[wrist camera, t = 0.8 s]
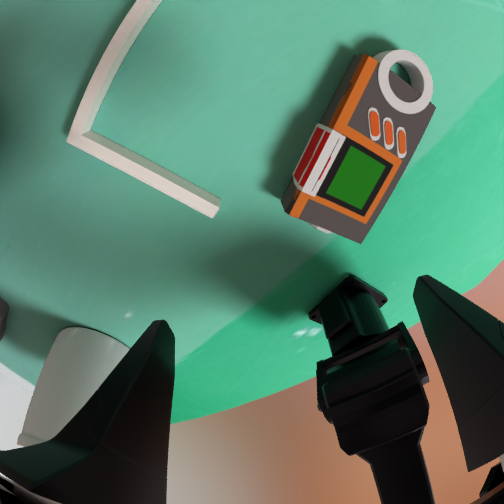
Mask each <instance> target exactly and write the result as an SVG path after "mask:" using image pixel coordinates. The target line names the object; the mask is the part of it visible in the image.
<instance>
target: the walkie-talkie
mask: <svg viewBox="0 0 504 504" xmlns="http://www.w3.org/2000/svg"><path fill="white" fill-rule="evenodd" d="M8 309H9V306H8V305H7V303H6V302H5V301H4V300H3V299H2V298H0V340H2V338H3V336H4V332H5V326H6V320H7V314H8Z"/></svg>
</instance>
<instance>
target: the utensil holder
mask: <svg viewBox="0 0 504 504" xmlns="http://www.w3.org/2000/svg"><path fill="white" fill-rule="evenodd" d="M129 350H130V349H129V348H128V347H127V346H125V345H124V344H122V343H121V342H119V341H117V340H116V339H114V338H112V337H110V336H108V335H105V334H103V333H100V332H98V331H94V330H91V329H86V328H81V327H70V328H66V329H63V330H62V331H60V332H59V334H58V335H57V337H56V339H55V341H54V343H53V345H52V347H51V350H50V352H49V354H48V356H47V358H46V360H45V363H44V365H43V368H42V371H41V373H40V376H39V379H38V381H37V384H36V387H35V390H34V393H33V396H32V399H31V402H30V405H29V408H28V411H27V415H26V419H25V422H24V426H23V430H22V433H21V434H20V435H19V437H18V442H17V445H18V446H20V447H21V448H22V447H26V446H30V445H34V444H38V443H42V442H46V441H48V440H50V439H52V438H53V437H54V436H56V435H57V434H58V433H59V432H60V431H61V430H62V429H63V427H64V426H65V425H66V424H67V423H68V422H69V421H70V420H71V419H72V418H73V417H74V416H75V415H76V414H77V413H78V412H79V410H80V409H81V408H82V407H83V406H84V405H85V404H86V402H87V401H88V400H89V399H90V398H91V396H92V395H93V394H94V393H95V391H96V390H98V388H99V387H100V385H101V384H102V383H103V382H104V380H105V379H106V378H107V377H108V375H109V374H110V373H111V372H112V370H113V369H114V368H115V367H116V366H117V364H118V363H119V362H120V361H121V359H122V358H123V357H124V356H125V355H126V353H127V352H128V351H129Z"/></svg>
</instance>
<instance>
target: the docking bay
mask: <svg viewBox="0 0 504 504" xmlns="http://www.w3.org/2000/svg"><path fill="white" fill-rule="evenodd" d="M161 1H162V0H137V1H136V2H135V4H134V5H133V7H132V8H131V9H130V11H129V12H128V14H127V15H126V17H125V18H124V20H123V22H122V23H121V25H120V26H119V28H118V30H117V31H116V33H115V35H114V36H113V38H112V40H111V41H110V43H109V45H108V47H107V49H106V50H105V52H104V54H103V56H102V58H101V60H100V62H99V64H98V66H97V68H96V70H95V72H94V74H93V76H92V78H91V80H90V82H89V84H88V87H87V89H86V91H85V93H84V96H83V98H82V101H81V103H80V105H79V108H78V110H77V113H76V116H75V118H74V121H73V124H72V126H71V129H70V132H69V135H68V138H67V141H66V142H68V143H70V144H71V145H73V146H75V147H77V148H79V149H81V150H83V151H85V152H87V153H89V154H91V155H93V156H95V157H97V158H99V159H100V160H102V161H104V162H106V163H108V164H110V165H112V166H114V167H116V168H118V169H120V170H122V171H123V172H125V173H127V174H129V175H131V176H133V177H135V178H137V179H139V180H141V181H142V182H144V183H146V184H148V185H150V186H152V187H154V188H156V189H158V190H159V191H161V192H163V193H165V194H167V195H169V196H171V197H173V198H175V199H176V200H178V201H180V202H182V203H184V204H186V205H188V206H190V207H191V208H193V209H195V210H197V211H199V212H201V213H203V214H204V215H206V216H208V217H210V218H212V219H213V217H214V216H215V214H216V213H217V212H218V210H219V209H220V202H221V199H220V198H218V197H216V196H214V195H213V194H211V193H209V192H207V191H205V190H204V189H202V188H200V187H198V186H196V185H194V184H193V183H191V182H189V181H187V180H185V179H183V178H182V177H180V176H178V175H176V174H174V173H172V172H170V171H169V170H167V169H165V168H163V167H161V166H159V165H157V164H155V163H154V162H152V161H150V160H148V159H146V158H144V157H142V156H140V155H138V154H136V153H135V152H133V151H131V150H129V149H127V148H125V147H123V146H121V145H119V144H117V143H115V142H113V141H111V140H109V139H107V138H105V137H103V136H101V135H99V134H97V133H95V132H93V131H91V130H90V129H91V127H92V124H93V122H94V119H95V117H96V115H97V112H98V110H99V108H100V106H101V103H102V101H103V99H104V97H105V95H106V93H107V90H108V88H109V86H110V84H111V82H112V80H113V78H114V76H115V75H116V73H117V71H118V69H119V67H120V65H121V63H122V61H123V60H124V58H125V56H126V54H127V53H128V51H129V49H130V48H131V46H132V44H133V43H134V41H135V39H136V38H137V36H138V35H139V33H140V31H141V30H142V28H143V27H144V25H145V24H146V22H147V21H148V19H149V18H150V17H151V15H152V14H153V12H154V11H155V9H156V8H157V7H158V5H159V4H160V3H161Z"/></svg>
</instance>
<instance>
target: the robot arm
mask: <svg viewBox="0 0 504 504" xmlns="http://www.w3.org/2000/svg"><path fill="white" fill-rule="evenodd" d="M351 280H352V281H351ZM413 299H414V302H415V305H416V308H417V311H418V314H419V317H420V320H421V323H422V326H423V329H424V332H425V335H426V338H427V340H428V343H429V345H430V347H431V350H432V352H433V355H434V358H435V360H436V363H437V365H438V368H439V371H440V373H441V376H442V379H443V382H444V385H445V388H446V390H447V393H448V396H449V399H450V403H451V406H452V409H453V412H454V416H455V419H456V423H457V426H458V430H459V434H460V438H461V442H462V446H463V451H464V455H465V460H466V465H467V469H468V472H470V471H472V470H474V469H477V468H479V467H481V466H483V465H485V464H486V463H488V462H490V461H492V460H494V459H496V458H498V457H499V458H500V462H499V463H498V464H496V465H495V466H493V467H492V468H491V470H490V472H489V474H488V476H487V479H486V481H485V483H484V485H483V487H482V489H481V492H480V494H479V495H480V498H479V499H477V500H476V501H474V502H472V503H471V504H504V323H503V322H501V321H500V320H499V321H498V319H497V318H495V317H494V316H492V315H491V314H489V313H488V312H486V311H485V310H483V309H482V308H480V307H479V306H477V305H476V304H474V303H473V302H471V301H470V300H468V299H467V298H465V297H463V296H462V295H460V294H459V293H457V292H456V291H454V290H452V289H451V288H449V287H448V286H446V285H444V284H443V283H441V282H439V281H438V280H436V279H434V278H433V277H431V276H429V275H423V276H419V277H418V278H417V280H416V284H415V288H414V292H413ZM387 300H388V299H387V297H386V296H385V295H384V294H382V293H381V292H379V291H377V290H376V289H374V288H373V287H371V286H370V285H368V284H366V283H365V282H363V281H362V280H360V279H359V278H357V277H355V276H353V275H351V276H348V277H347V278H346V279H345V280H344V281H343V282H342V283H341V284H340V285H339V286H338V287H337V288H336V289H335V290H334V291H332V292H331V293H330V294H329V295H328V296H327V297H326V298H325V299H324V300H323V301H322V302H321V303H320V304H318V305H317V306H316V307H315V308H314V309H313V310H312V311H311V312H310V313H309V319H310V320H312V321H315V322H317V323H320V324H322V325H323V328H324V332H325V335H326V338H327V339H328V342H329V346H330V349H331V353H332V357H330V358H328V359H325V360H321V361H318V362H317V370H316V375H317V400H318V405H317V407H318V410H319V411H321V412H323V414H324V416H325V418H326V419H327V421H328V422H329V423H331V424H333V425H334V427H335V430H336V433H337V437H338V441H339V445H340V448H341V449H342V450H343V451H344V452H346V454H348V455H350V456H351V455H354V454H356V455H358V456H359V457H361V458H362V459H363V460H365V461H366V462H368V463H369V464H370V466H371V469H372V472H373V475H374V479H375V482H376V485H377V489H378V493H379V496H380V500H381V504H435V500H434V496H433V491H432V487H431V482H430V478H429V475H428V470H427V467H426V463H425V459H424V455H423V452H422V448H421V445H420V441H421V438H422V434H423V431H424V427H425V426H426V424H427V419H428V414H429V403H428V400H427V397H426V394H425V391H424V388H423V385H424V384H426V383H428V382H429V377H428V373H427V370H426V367H425V365H424V362H423V360H422V358H421V355H420V353H419V351H418V349H417V347H416V345H415V343H414V341H413V339H412V337H411V336H410V334H409V332H408V330H407V328H406V326H405V324H404V323H403V321H402V322H400V323H398V325H396V326H394V327H393V328H391V329H389V327H388V325H387V323H386V321H385V319H384V316H383V314H382V312H381V310H380V308H381V307H382V306H383V305H384V304H385V303H386V302H387ZM313 315H314V316H313ZM174 378H175V337H174V334H173V332H172V330H171V328H170V327H169V325H168V323H167V322H166V321H165V320H155V321H153V322H152V323H151V325H150V326H149V327H148V328H147V329H146V331H145V332H144V333H143V334H142V335H141V337H140V338H139V339H138V340H137V341H136V343H135V344H134V345H133V346H132V347H131V349H130V350H129V351H128V352H127V353H126V355H125V356H124V357H123V358H122V359H121V361H120V362H119V363H118V364H117V366H116V367H115V368H114V369H113V370H112V372H111V373H110V374H109V375H108V377H107V378H106V379H105V380H104V382H103V383H102V384H101V385H100V387H99V388H98V390H96V391H95V393H94V394H93V395H92V396H91V398H90V399H89V400H88V401H87V402H86V404H85V405H84V406H83V407H82V408H81V409H80V410H79V412H78V413H77V414H76V415H75V416H74V417H73V418H72V419H71V420H70V421H69V422H68V423H67V424H66V425H65V426H64V427H63V429H62V430H61V431H60V432H59V433H58V434H57V435H56V436H54V437H53V438H52V439H50V440H48V441H46V442H42V443H38V444H34V445H30V446H26V447H22V448H17V449H12V450H7V451H0V472H1V473H2V474H3V475H5V476H6V477H8V478H9V479H11V480H12V481H11V480H8V479H7V478H4V477H2V476H1V475H0V504H166V491H167V464H168V446H169V432H170V420H171V409H172V399H173V389H174ZM13 481H14V482H13Z"/></svg>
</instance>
